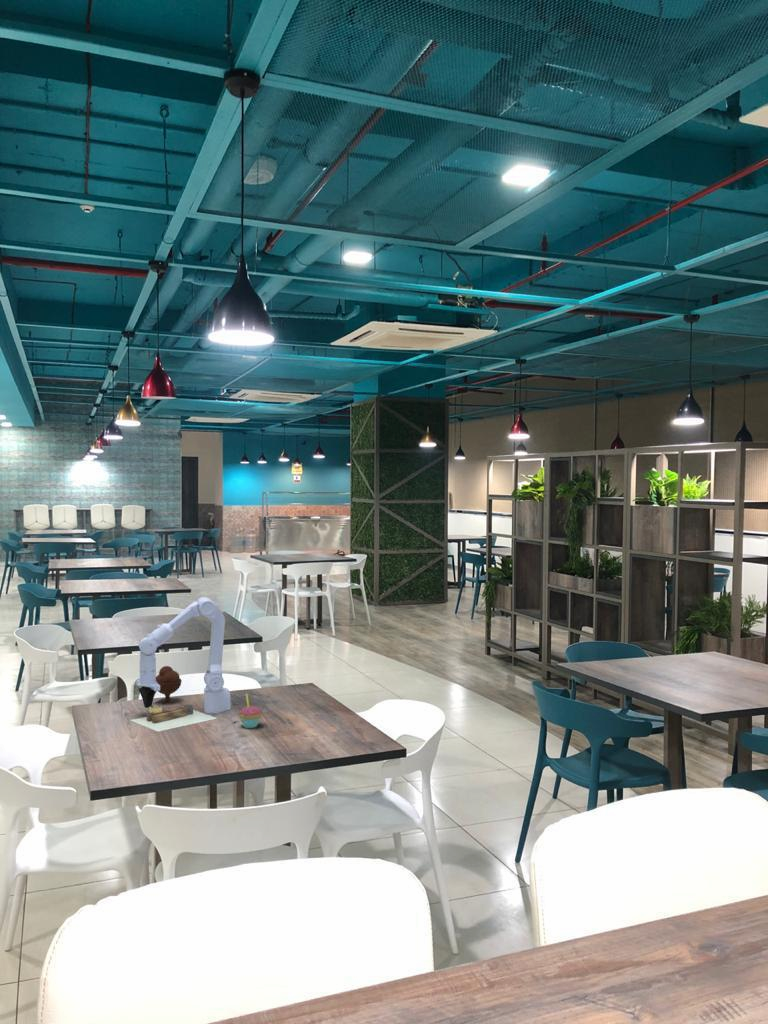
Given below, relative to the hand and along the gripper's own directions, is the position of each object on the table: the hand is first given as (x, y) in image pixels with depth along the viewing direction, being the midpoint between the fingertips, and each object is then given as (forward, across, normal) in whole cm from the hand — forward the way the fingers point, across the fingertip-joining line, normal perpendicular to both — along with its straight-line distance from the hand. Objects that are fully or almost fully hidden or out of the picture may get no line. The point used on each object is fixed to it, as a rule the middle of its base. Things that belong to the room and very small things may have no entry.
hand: (148, 707), depth 300 cm
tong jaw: (+3, +9, +4) cm, 10 cm away
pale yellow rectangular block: (+1, +6, 0) cm, 6 cm away
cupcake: (+5, +34, +22) cm, 41 cm away
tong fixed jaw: (+3, +7, +6) cm, 9 cm away
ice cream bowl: (+5, -14, +16) cm, 22 cm away
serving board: (+4, +10, +5) cm, 12 cm away
